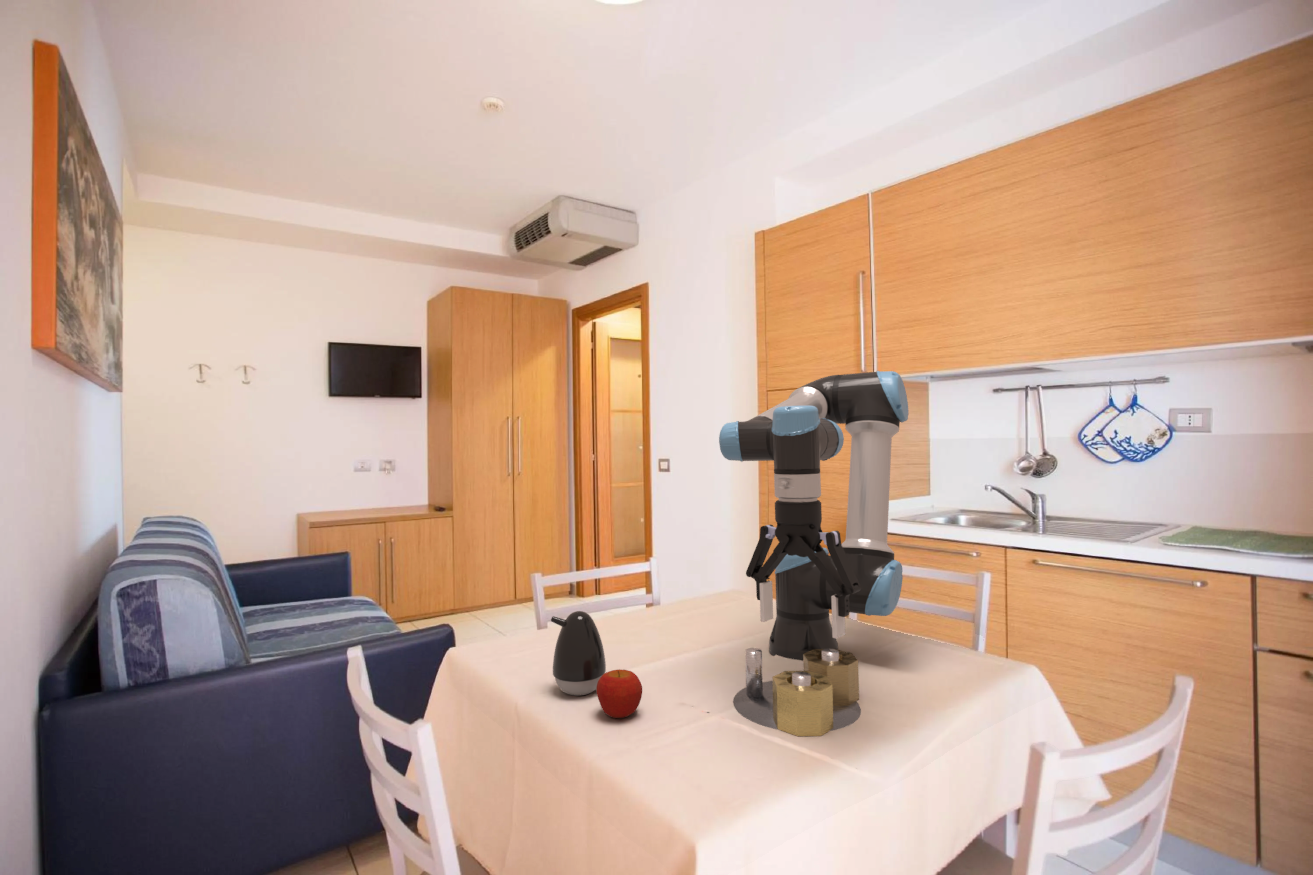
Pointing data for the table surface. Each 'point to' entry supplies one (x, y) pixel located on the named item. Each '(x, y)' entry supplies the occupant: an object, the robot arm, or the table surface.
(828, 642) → the robot arm
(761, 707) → the carrier
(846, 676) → the seated gear
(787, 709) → the gear
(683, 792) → the table surface
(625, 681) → the apple
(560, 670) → the pump dispenser
